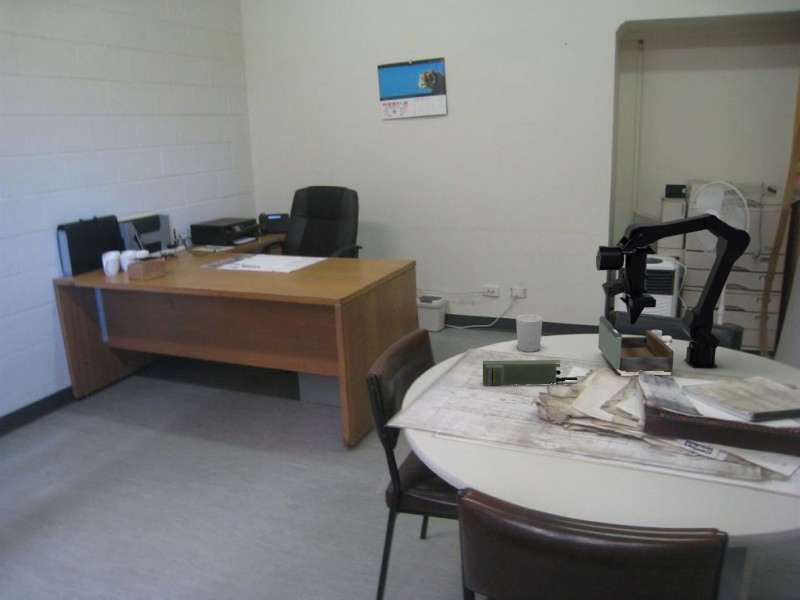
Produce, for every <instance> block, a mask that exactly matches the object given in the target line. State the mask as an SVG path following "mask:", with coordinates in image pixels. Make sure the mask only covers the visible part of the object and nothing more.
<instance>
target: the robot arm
mask: <svg viewBox="0 0 800 600" xmlns="http://www.w3.org/2000/svg"><path fill="white" fill-rule="evenodd" d="M706 230H707V232H709V233H710V234H712V235H713V236H715V237H716V238H717V241H716V246H715V247H716V248H715V250H716V251H715V254H716V256H715V259H714V263H713V265H712V267H711V269H710V272H709V274H708V277H707V278H706V281H705V284H704V286H703V289H702V290H701V294H700V296H699V298H698V300H697V303H696V305H695V306H694V307H693V308H692V309H690V308H686V309H685V310H684V315H683V318H681V320H680V322H682V323H681V329H682V330H683V332H684V333H685V334H686V335H687V336H688V339H689V340H691V341H688V346H687V347H686V354H685V358H684V360H685V361H686V363H688V364H689V365H690V366H691V367H692V368H696V369H697V368H699V369H700V368H717V367H718V365H717V364H716V363H715V361H716V353H717V348H718V347H719V345H720V342H721V341H720V340H719V339H718V338H717V337H716V336H715V335H714V334H713V333H712V332H713V327H714V322H715V321H714V314H715V313H714V311H715V310H716V307H717V305H718V302H719V300H720V297H721V295H722V293H723V290H724V288H725V285H726V283H727V280H728V278H729V276H730V273H731V271H732V269H733V266H734V264H735V263H736V262H737V261H738V260H739V259H740V258H741V257H742V256H743V255H744V254H745V252H746V250H747V249H748V247H749V246H750V244H751V237H750V236H751V235H750V234H749V233H748V231H746V230H745V229H741V228H738V227H736V226H732V225H730V224H728V223H726V222H725V221H723V220H722V219H721V218H718V216H717V215H715V214H712V213H709V212H706V213H705V212H704V213H702V214H699V215H693V216H688V217H684V218H680V219H679V218H678V219H675V220H670V221H664V222H659V223H658V222H657V223H656V222H655V223H652V222H636V223H631V224H629V225H628V226H627V227H626V228H625V230H624V234H623V236H622V237H621V238H620V240H618V242H617V243H616V244H615V246H614V245H613V246H611V245H610V246H608V245H607V246H606V245H599V246H598V250H597V253H596V256H595V265H596V266H595V268H596V269H597V271H620V269H622V268H623V267H624V271H622V272H621V273H620V277H619V278H615V279H612V280H610V281H609V280H608V281H605V282H603V283H602V284H601V286H602V290H603V293H604V295H605V296H607V297H606V298H608V299H611V298H614V297H615V296H617V295H620V294H622V296H621V297H620V296H619V300H621V301H622V302H623V303H624V304H625V308H626V313H627V316H628V317H627V318H628V322H629V324H630V325H635V324H636V322H637V321H638V319H639V318H640V316H641V314H642V312H643V311H644V309H645V308H646V309H647V308H656V307H657V299H656V298H655V297H653V295H651V294H649V293H648V288H646V283H647V279H649V274H648V273H647V266H648V255H655V254H657V252H656V251H655V250H654V249H653V248H652V246H651V245H652V244H655V243H657V241H660V240H662V239H665V238H670V237H675V236H680V235H685V234H692V233H697V232H702V231H706Z"/></svg>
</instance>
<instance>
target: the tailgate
mask: <svg viewBox="0 0 800 600" xmlns="http://www.w3.org/2000/svg"><path fill="white" fill-rule="evenodd" d="M598 321H599V325H598V326H599V327H598V342H597V343H598V345H597V347H598V350H599V351H600V352H601V353H602V354H603V355H605V356H604V357H605V358H606V359H607V361H608V362H609V363H610V365H611V366H612V367H613V369H620V355H621V337H623V335H622V333H620V332H619V331H618V330H617V329H616V327H615V326H614V325H613V324H612V323H611V322H609V320H608V319H607V318H606V317H605V316H604V315H601V316H599V319H598Z"/></svg>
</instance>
